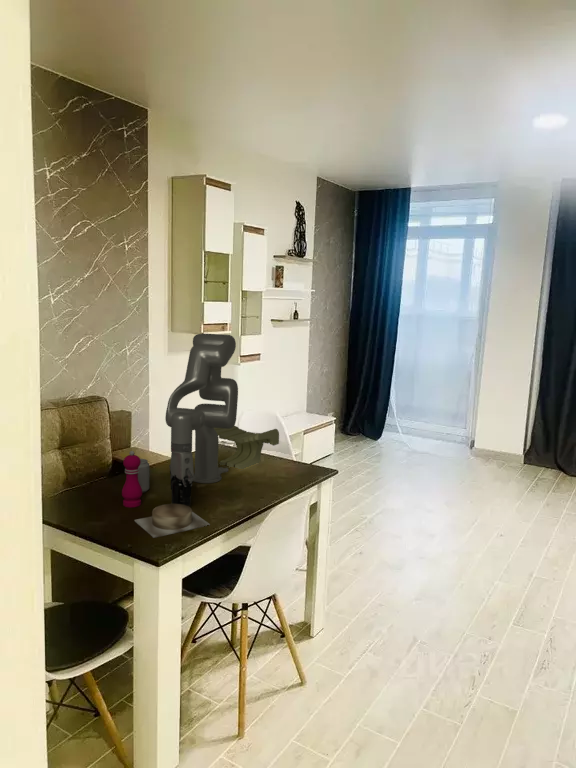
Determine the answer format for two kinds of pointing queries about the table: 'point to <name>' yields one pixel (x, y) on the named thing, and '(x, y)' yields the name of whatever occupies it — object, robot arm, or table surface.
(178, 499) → the supplement bottle
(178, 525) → the pedestal
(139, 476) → the can
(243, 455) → the slatted curved stool
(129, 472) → the pepper mill
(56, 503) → the table surface
